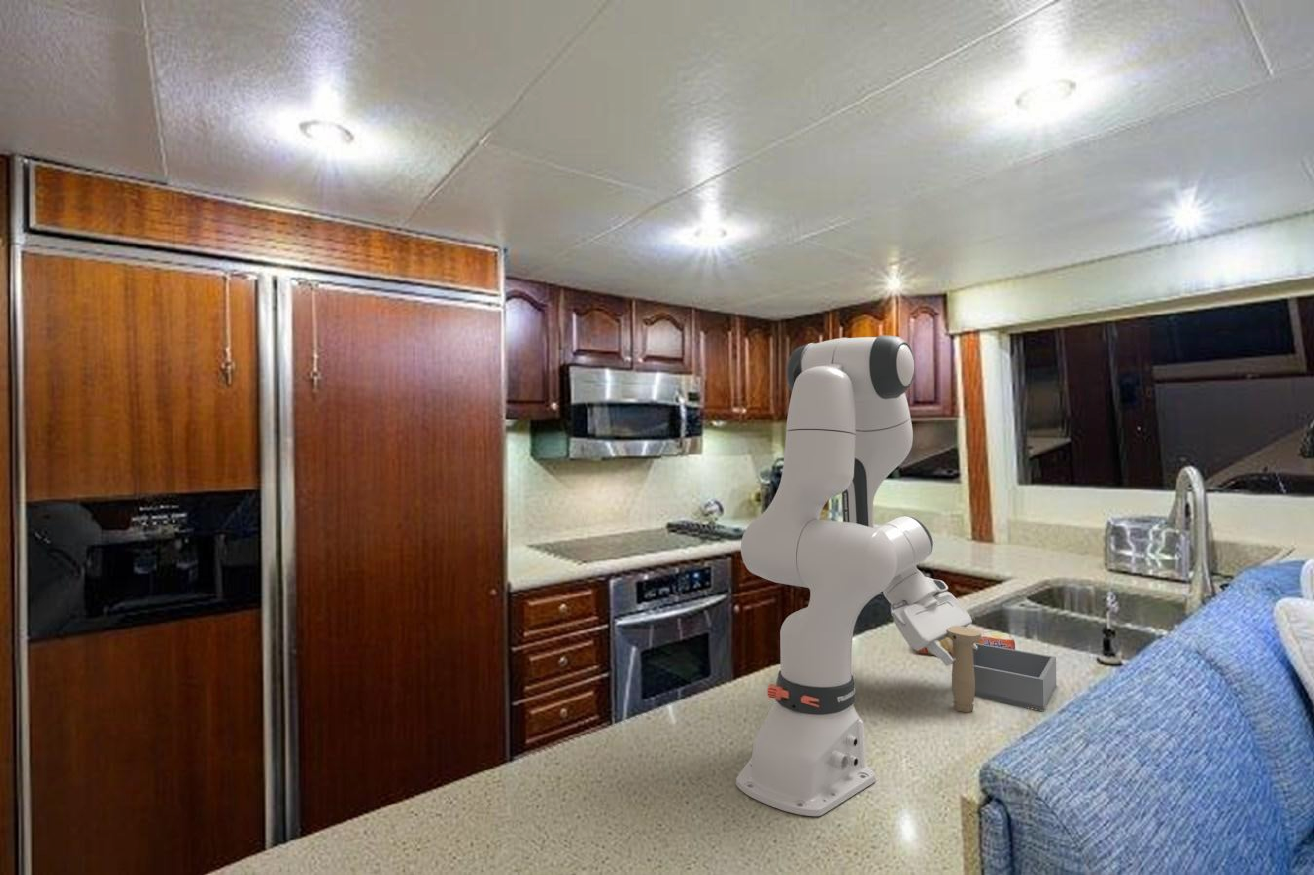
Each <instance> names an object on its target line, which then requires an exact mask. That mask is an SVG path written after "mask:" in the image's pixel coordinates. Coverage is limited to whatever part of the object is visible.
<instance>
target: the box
mask: <svg viewBox="0 0 1314 875" xmlns="http://www.w3.org/2000/svg"><path fill="white" fill-rule="evenodd" d="M975 645H976V646H977V647H978V649H977V650H976V651H975V652H973V664H974V676H975V694H974V698H975V697H976V698H980V699H983V700H990V701H992V702H993V701H994V702H999V703H1001V704H1003V703H1004V704H1008V705H1012V706H1017V707H1020V708H1025V707H1027V708H1026V709H1029V708H1033V709H1032V710H1034V709H1037V710H1036V711H1038V710H1044V708H1045V707H1046V708H1047V706H1048V704H1047V703H1049V702H1048V701H1050V699H1051V697H1052V696H1053V694H1054V691H1055V689H1056V688H1057V657H1056V656H1053V655H1046V654H1040V653H1037V652H1029V651H1024V650H1019V649H1015V650H1014V649H1008V648H1002V647H996V646H991V645H985V644H979V643H975ZM1046 705H1047V706H1046ZM1028 707H1029V708H1028ZM1046 708H1045V709H1046ZM1044 711H1045V710H1044Z"/></svg>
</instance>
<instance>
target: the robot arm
mask: <svg viewBox="0 0 1314 875" xmlns="http://www.w3.org/2000/svg"><path fill="white" fill-rule="evenodd" d="M785 367H786V368H785V374H786V375H785V376H786V382H787V385H788V388H789V390H790V391H791V395H790V401H789V405H788V410H787V419H786V428H785V429H786V431H785V443H784V444H785V447H784V456H783V465H782V473H781V477H780V483H779V485H778V489H777V490H776V493H775V494H774V496H773V499H772V500H771V502H770V504H769V505H768V506H767V508H766V509H765V511H763V513H762V514H761V515H760V516H759V517H757V518H755V519H754V520H753V521H751V523H750V524H748V526H747V527H746V528H745V531H744V532H743V534H742V538H741V542H740V555H741V559H742V561H743V564H744V566H745V568H746V569H747V570H748V571H749V573H751V574H753V575H755V576H758V577H760V578H762V579H765V580H768V581H770V582H773V583H776V584H782V585H789V586H794V587H802V588H807V589H809V592H810V596H809V602H808V606H806V607H803V608H801V609H799V610H797V611H795V612H793V613H791V614H790V615H788V616H787V617H786V618H785V620H784V621H783V623H782V625H781V628H780V632H779V634H780V636H779V637H780V640H779V642H780V645H779V646H780V649H779V650H780V670H778V673H777V678H776V682H775V684H772V683H771V684H769V685H768V687H767V689H766V694H767V695H766V696H767V697H768V698H770V699H775V700H774V702H773V704H772V706H771V708H770V709H769V712H768V713H767V715H766V717H765V719H764V721H763V723H762V726H760V730H759V731H758V733H757V735H756V737H755V739H754V741H753V746H752V754H751V758H750V759H749V760H748V762H747V763H746V764H745V765H744V767H743V768H742V769H741V771H740V772H739V773H738V774H737V777H736V778H735V786H736V787H737V788H738V789H739V790H740V791H741V792H742V793H744V794H745V795H747V796H749V797H750V798H752V799H754V800H756V801H758V802H760V803H762V804H765V805H768V806H769V807H773V808H776V809H779V810H781V811H784V812H787V813H792V814H795V815H800V816H806V817H808V816H809V817H820V816H823V815H825V814H826V813H828V812H829V811H832V809H834V808H836V807H837V806H839V805H840V804H842V803H843V802H845V801H847V800H849V799H850V798H851V797H853V796H855V795H856V794H858V793H859V792H861V791H863V790H864V789H866V788H867V787H869V786H871V785H872V784H874V783H875V782H876V780H877V779H876V778H877V777H876V773H875V771H874V770H873V769H872V768H871V767H869V766H868V761H867V749H866V737H865V735H866V734H865V726H864V722H863V720H862V718H861V717H860V715H859V714H858V712H857V710H856V708H855V705H854V704H855V701H856V684H855V677H854V675H853V673H852V658H853V657H852V655H853V654H852V652H853V638H854V637H853V635H854V631H855V626H856V623H857V620H858V617H859V616H860V614H861V611H862V610H863V609H864V607H865V606H866V605H867V604H868V603H869V602H870V601H871V600H872V599H873V598H875V597H876V596H877V595H879V594H881V593H882V592H883V593H882V594H883V595H884V597H885V598H886V599H887V601H888V602H889V603H890V614H891V616H892V617H893V622H894V625H895V626H896V628H897V630H898V632H900V634H901V636H902V637H903V639H904V640H905V641H906V643H907V644H908V646H909V647H910V648H912V649H913V650H915V651H916V652H917V651H918V650H921V649H923V648H925V647H927V649H928V650H929V651H930V652H931V653H932V654H934V655H933V656H935V657H937V658H939V659H940V661H942V663H943V664H944V665H945V666H946V667H948V666H950V665H953V662H955V661H956V658H955V657H954V656H953V654H952V653H951V652H947V651H946V650H945V649H944V648H943V647H941V646H940V645H941V643H940V642H939V641H940V640H942V639H945V638H947V636H946V635H947V630H946V629H948V628H951V627H953V626H959V627H965V628H968V626H970V625H971V624H972V623H973V620H972V618H971V615H970V614H969V612H968V611H967V610H966V608H965V607H964V606H963V605H962V603H961V602H960V601H959V600H958V599H957V598H956V597H955V596H954V594H952V593H951V592H949V591H948V590H949V586H948V585H947V584H946V583H945V582H944V581H943V580H941V579H934V578H931V577H928V576H925V574H923V572H922V571H921V570H919V569H918V567H917V565H919V564H920V563H922V562H924V561H925V560H926V559H927V558H928V557H929V556H930V555H931V553H932V551H933V546H934V545H933V544H934V542H933V538H932V534H931V532H930V531H929V530H928V528H927V527H926V525H924V524H923V523H922V522H921V521H920V520H918V519H917V518H916V517H913V516H909V515H902V516H899V517H896V518H894V519H892V520H890V521H888V522H886V523H883V524H875V522H874V520H875V519H874V518H875V517H874V501H875V496H876V494H877V492H878V489H879V488H880V486H881V485H882V483H883V482H884V481H885V480H886V479H887V478H888V476H890V474H891V473H892V472H893V471H894V470H895V469H896V468H898V466H900V465H901V464H902V463H903V462H904V460H906V458H907V456H908V455H909V453H910V451H911V450H912V447H913V442H914V441H913V440H914V439H913V438H914V433H913V432H914V430H913V424H912V418H911V411H910V408H909V403H908V400H907V396H906V392H907V390H908V389H909V388H910V387H911V385H912V384H913V381H914V376H915V360H914V354H913V350H912V349H911V347H910V345H909V344H908V343H907V342H906V341H905V340H904V339H903V338H902V337H899V336H897V335H895V336H894V335H885V334H884V335H883V334H881V335H878V336H875V337H874V336H873V337H872V336H866V337H865V336H864V337H862V336H861V337H850V338H849V337H840V338H839V337H838V338H834V339H833V338H832V339H829V340H825V341H821V342H817V343H815V342H810V343H807V344H804V345H802V346H799V347H797V348H796V349H794V350H793V351H792V353H791V354H790V356H789V358H788V361H787V363H786V366H785ZM840 494H841V506H842V508H841V509H842V521H837V520H825V519H821V513H822V511H823V509H824V507H825V505H826V503H827V502H828V501H829V500H830V499H832V498H834V497H837V496H838V495H840ZM977 649H978V647H977V646H976V645H975V643H974V644H973V652H975V651H976V650H977Z"/></svg>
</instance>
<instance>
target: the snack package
mask: <svg viewBox="0 0 1314 875" xmlns="http://www.w3.org/2000/svg"><path fill="white" fill-rule="evenodd" d="M975 630H976V631H978V632H980V633H981V640H980V641H979V642H977V643H979V644H985V645H991V646H996V647H1002V648H1008V649H1014V650H1016V642H1015V640H1014V637H1013V636H1012V635H1011V634H1009V633H1006V632H1005V633H1004V632H992V631H984V630H977V629H975ZM939 642H940V643H941V645H940V646H941V647H943V648H944V649H945V650H946V651H947V652H951V653H952V654H953V641H952V640H951V639H950V638H949V637H947V638H945V639H942V640H940V641H939ZM916 652H917V654H920V655H930V656H931V655H932V656H935V655H934V654H932V653H931V652H930V651H929V650H928V649H927V647H925V648H923V649H921V650H918V651H916Z"/></svg>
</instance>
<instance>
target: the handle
mask: <svg viewBox="0 0 1314 875" xmlns="http://www.w3.org/2000/svg"><path fill="white" fill-rule="evenodd" d="M946 630H947V635H946V636H947V637H949V638H950V639H951V640H952V641H953V656H954V657H955V658H956V661H955V662H953V663H952V670H951V689H952V697H953V706H954V708H955V709H956V711H958V712H963V713H970V712H973V710H974V705H975V704H973V703H974V701H975V696H974V694H975V676H974V664H973V644H974V643H977V642H979V641H980V640H981V633H980V632H978V631H979V630H978V631H976V630H977V629H972V628H971V627H966V628H965V627H959V626H953V627H951V628H948V629H946Z"/></svg>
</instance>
